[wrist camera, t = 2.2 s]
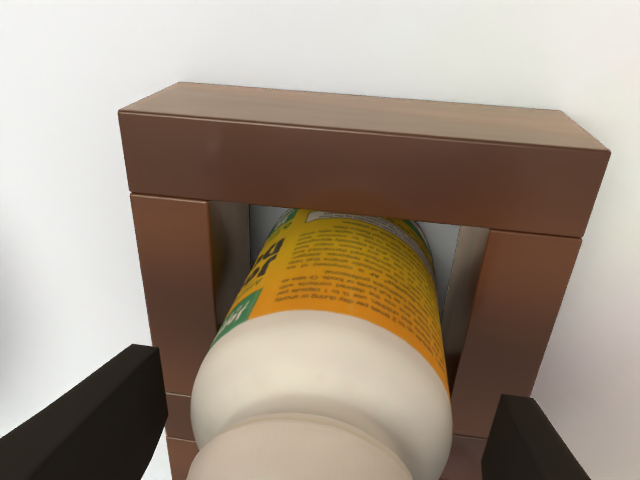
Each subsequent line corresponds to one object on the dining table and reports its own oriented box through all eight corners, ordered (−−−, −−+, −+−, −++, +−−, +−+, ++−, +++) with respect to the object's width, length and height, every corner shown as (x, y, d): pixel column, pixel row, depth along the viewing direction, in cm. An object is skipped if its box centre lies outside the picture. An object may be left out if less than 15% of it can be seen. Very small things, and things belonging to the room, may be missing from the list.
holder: (444, 540, 22) (450, 631, 19) (215, 501, 23) (186, 582, 20) (562, 110, 13) (613, 151, 10) (177, 80, 14) (115, 109, 11)
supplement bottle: (405, 344, 17) (409, 695, 9) (256, 305, 17) (120, 614, 9) (457, 207, 14) (536, 520, 6) (282, 163, 15) (122, 410, 6)
